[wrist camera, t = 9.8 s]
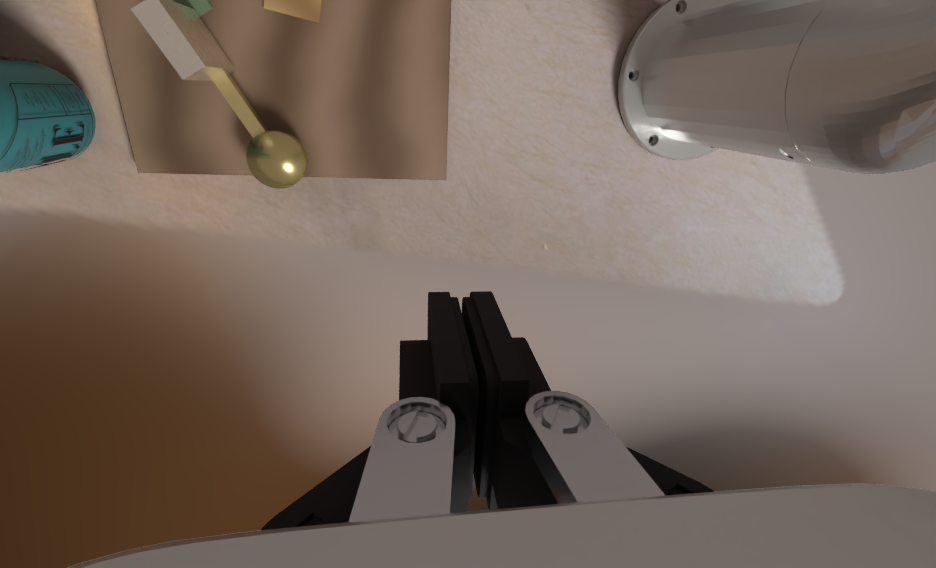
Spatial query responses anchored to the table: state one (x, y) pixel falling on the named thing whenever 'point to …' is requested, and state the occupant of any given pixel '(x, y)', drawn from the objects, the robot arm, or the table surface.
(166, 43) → the gold and silver piece
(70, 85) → the beverage bottle
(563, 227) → the table surface
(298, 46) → the cutting board
